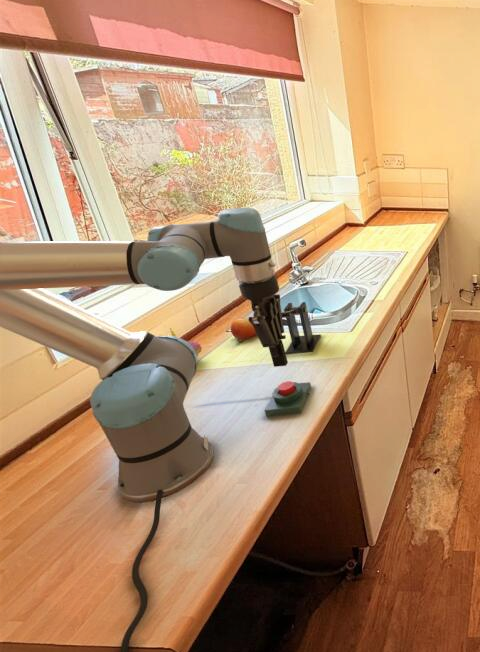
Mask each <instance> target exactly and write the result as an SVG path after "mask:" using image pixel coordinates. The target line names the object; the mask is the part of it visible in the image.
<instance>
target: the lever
mask: <svg viewBox="0 0 480 652" xmlns="http://www.w3.org/2000/svg"><path fill="white" fill-rule="evenodd" d="M299 306H300V305H297V306H293V307H291V308H290V311H286V312H284V311H283V312H281V313H282V319H284V318H285V319H286V317H291V315H295V316H300V315H299V310H298V308H299Z"/></svg>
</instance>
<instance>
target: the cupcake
mask: <svg viewBox="0 0 480 652" xmlns="http://www.w3.org/2000/svg"><path fill="white" fill-rule="evenodd" d="M169 330H170V333H171V336H175V337H177V335H176V333H175V331H174V330H172V328H171V327H170V328H169ZM185 341H186V342H188V343H189V344H190V345H191V346H192V347H193V348H194V350H195V352H196V354H197V363H198V358H199V354H200V353H201V352H202V351H203V349H202V348H203V347H202V345H201V344H200V343H198V342H196V341H193V340H185Z"/></svg>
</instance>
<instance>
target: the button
mask: <svg viewBox="0 0 480 652" xmlns="http://www.w3.org/2000/svg"><path fill="white" fill-rule="evenodd" d="M293 382H294V381H291V380H290V381H284V382H281V383H280V384H278V385H279V386H277V387H278V390H279V394H280V395H288V394H291V393H292V392H294V391H295V387H294V383H293Z"/></svg>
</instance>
